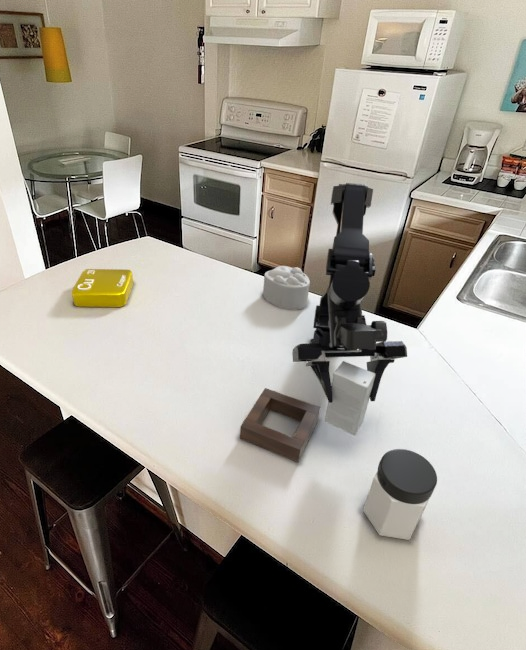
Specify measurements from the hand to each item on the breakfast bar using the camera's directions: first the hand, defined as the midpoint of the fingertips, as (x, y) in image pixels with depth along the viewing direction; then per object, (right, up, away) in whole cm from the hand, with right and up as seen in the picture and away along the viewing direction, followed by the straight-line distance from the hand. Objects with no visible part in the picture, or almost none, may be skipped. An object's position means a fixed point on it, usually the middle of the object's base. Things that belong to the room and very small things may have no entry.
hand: (351, 401), depth 76 cm
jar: (+6, -18, -3) cm, 19 cm away
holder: (-11, -8, +12) cm, 18 cm away
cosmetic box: (0, -5, +5) cm, 7 cm away
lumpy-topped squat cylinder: (-4, +21, +53) cm, 57 cm away
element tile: (-57, +22, +54) cm, 82 cm away
